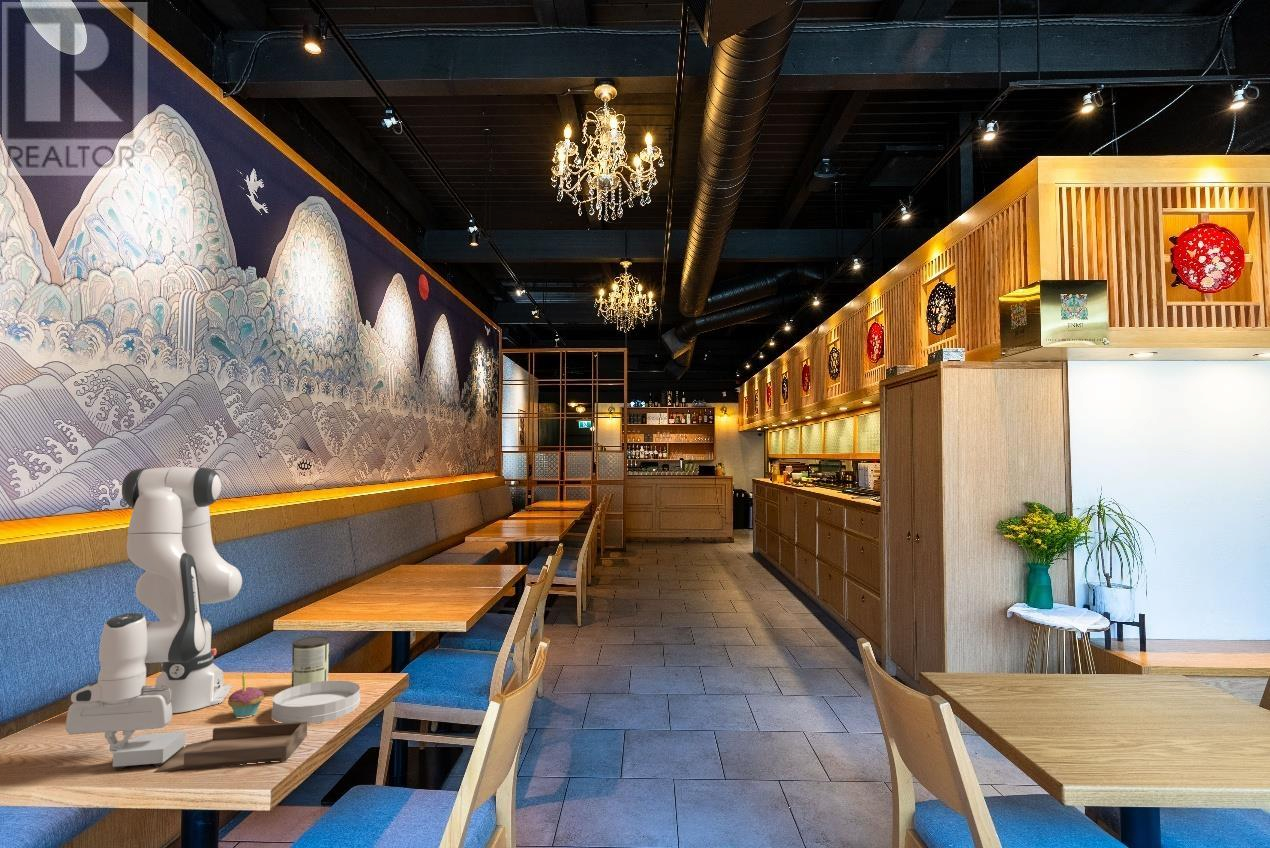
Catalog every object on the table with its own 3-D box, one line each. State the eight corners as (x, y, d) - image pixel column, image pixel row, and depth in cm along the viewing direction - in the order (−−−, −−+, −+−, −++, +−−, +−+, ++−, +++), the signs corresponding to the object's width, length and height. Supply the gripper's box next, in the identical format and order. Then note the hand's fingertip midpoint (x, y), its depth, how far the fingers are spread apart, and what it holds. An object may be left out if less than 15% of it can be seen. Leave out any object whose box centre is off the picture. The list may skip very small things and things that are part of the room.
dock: (186, 747, 159) (187, 729, 159) (306, 738, 164) (307, 721, 164) (153, 775, 144) (154, 755, 145) (285, 764, 149) (286, 745, 149)
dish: (376, 699, 191) (376, 682, 191) (327, 729, 169) (328, 709, 169) (307, 696, 194) (307, 678, 195) (251, 724, 173) (252, 704, 173)
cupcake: (255, 720, 175) (257, 673, 176) (220, 722, 173) (222, 675, 174) (268, 708, 183) (269, 664, 184) (235, 710, 182) (236, 666, 183)
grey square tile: (138, 752, 155) (138, 735, 155) (184, 749, 157) (185, 731, 157) (112, 771, 145) (113, 752, 145) (162, 767, 147) (163, 748, 147)
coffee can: (285, 688, 201) (286, 640, 202) (318, 679, 209) (320, 634, 210) (300, 695, 194) (301, 646, 195) (334, 686, 202) (335, 639, 203)
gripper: (178, 680, 156) (176, 741, 155) (81, 686, 152) (78, 748, 151) (164, 689, 150) (162, 752, 149) (62, 695, 146) (59, 759, 145)
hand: (118, 750), depth 150 cm, fingers closed
